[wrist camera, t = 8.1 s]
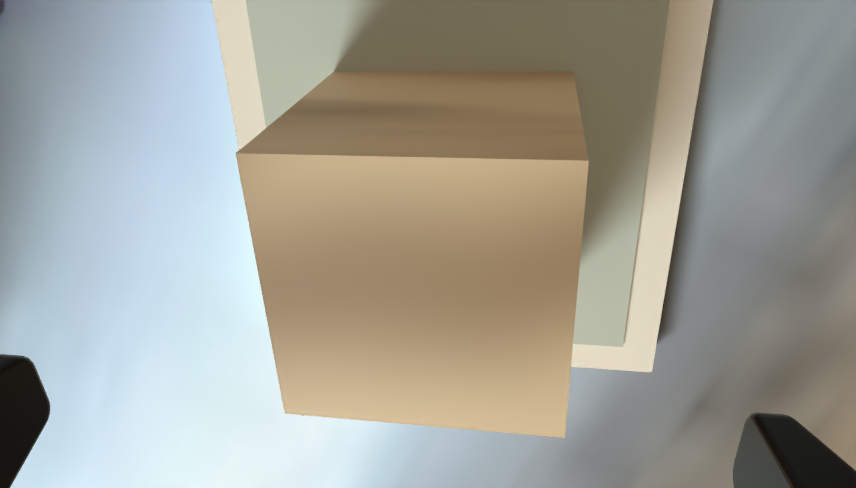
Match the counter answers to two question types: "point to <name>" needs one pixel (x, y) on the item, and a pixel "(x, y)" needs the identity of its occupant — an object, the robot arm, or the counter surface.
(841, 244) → the counter surface
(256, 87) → the tile
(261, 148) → the cube
